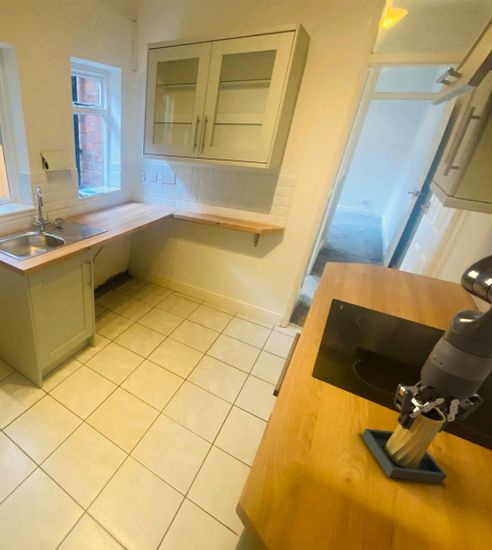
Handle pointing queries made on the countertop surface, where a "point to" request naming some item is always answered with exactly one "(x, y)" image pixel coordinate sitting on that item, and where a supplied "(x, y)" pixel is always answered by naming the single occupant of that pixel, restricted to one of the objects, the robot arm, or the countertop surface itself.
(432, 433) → the vase
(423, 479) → the tray
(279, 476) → the countertop surface
